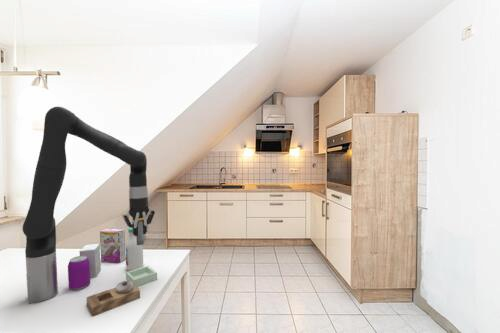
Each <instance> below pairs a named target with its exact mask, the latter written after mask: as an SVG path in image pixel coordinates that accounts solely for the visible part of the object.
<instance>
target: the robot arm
mask: <svg viewBox="0 0 500 333" xmlns="http://www.w3.org/2000/svg"><path fill="white" fill-rule="evenodd" d="M43 125H44V127H43V135H42V136H43V137H42V142H41V143H42V144H41V146H40V151H39V154H38V159H37V163H36V166H35V171H34V175H33V176H34V177H33V181H32V183H33V184H32V191H31V192H32V193H31V201H30V205H29V208H28V210H27V214H26V217H25V218H24V221H23V224H22V232H23V234H24V235H25V238H26V239H25V240H26V244H25V252H24V253H25V268H26V271H25V272H26V289H27V290H26V291H27V293H26V294H27V302H28V304H33V303H40V302H44V301H47V300H49V299H51V298H53V297H55V296H57V295H58V294H59V285H58V284H59V283H58V282H59V281H58V266H57V265H58V264H57V246H56V245H57V233H56V230H57V229H56V227H57V226H56V219H55V217H54V212H55V208H56V207H55V206H56V202H57V199H58V196H59V194H60V193H61V192H60V191H61V189H62V187H63V184H64V179H65V176H66V170H67V153H66V143H67V142H66V141H67V138H68V135H72V136H74V137H77V138H80V139H82V140H84V141H86V142H88V143H90V144H91V145H93V146H94V147H96V148H98V149H99V150H100V151H101V150H102V151H103V152H105V153H107V154H109V156H110V155H111V156H113V157H115V158H117V159H119V160H120V161H122V162H123V163H125V164H127V165H129V166H130V168H129V169H130V170H129V171H130V172H129V176H128V185H129V186H128V187H129V189H128V198H129V199H128V200H129V205H128V207H129V210H128V212H127V213H126V214H123V215H122V217H121V218H122V219H123V220H124V222H125V224H126V226H127V227H129V228H133V235H134V236H138V235H137V228H136V227H137V223H138V218H142V217H143V227H144V235H146V234H147V233H148V229H147V228H148V225H150V224H151V223H152V221H153V219H154V215H155V214H156V211H155V210H153V209H152V210H151V209H150V208H149V192H148V186H147V184H148V182H147V166H148V164H147V156H146V154H145V153H144V152H142V151H141V150H137V149H135V148H133V147H131V146H129V145H128V144H126V143H125V142H123V141H121V140H120V139H117V138H116V137H114V136H112V135H109V134H108V133H105V132H103V131H101V130H98V128H95V127H92V126H91V125H89V124H88V123H86V122H85V121H83V120H82V119H81V118H79V116H77V115H76V114H75V113H74V112H73V111H70V110H69V109H67V108H66V107H63V106H54V107H51V108H49V110H48V111H47V112H46V113H45V116H44V124H43ZM147 215H148V216H147ZM130 217H131V218H132V220H131V221H132V222H131V221H130Z"/></svg>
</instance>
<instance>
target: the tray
mask: <svg viewBox="0 0 500 333" xmlns="http://www.w3.org/2000/svg"><path fill="white" fill-rule="evenodd" d="M157 280H158V272H157V271H156V270H155V269H154V268H152V267H151V266H149V265H145V266H143V267H142V268H139V269H136V270H132V271H126V272H125V281H132V282H133V284H134V285H135V286H136V287H137V288H138V287H140V286H143V285H145V284H148V283H150V282H154V281H157Z"/></svg>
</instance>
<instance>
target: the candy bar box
mask: <svg viewBox="0 0 500 333" xmlns="http://www.w3.org/2000/svg"><path fill="white" fill-rule="evenodd" d="M125 232H126V231H125V229H119V228H118V229H117V228H115V229H113V228H105V229H103V230H100V231H99V242H100V243H99V244H100V263H113V264H115V263H116V264H121V263H122V262H123V261H126V238H125V237H126V235H125V234H126V233H125Z"/></svg>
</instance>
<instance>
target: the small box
mask: <svg viewBox="0 0 500 333" xmlns="http://www.w3.org/2000/svg"><path fill="white" fill-rule="evenodd" d="M79 256H87V257H88V259H89V262H90V279H91V278H96V277H97V276H98V275H99V274H100V271H101V270H102V268H101V267H102V265H101V245H100V243H92V244H85V245H84V246H83V247H82V248H81V249H80V250H79Z"/></svg>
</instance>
